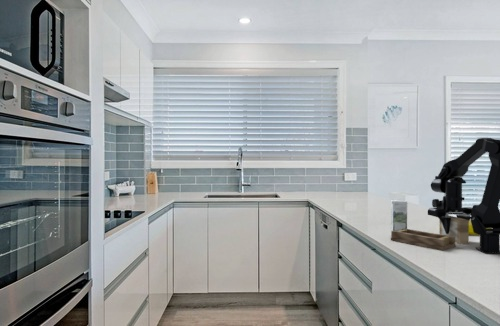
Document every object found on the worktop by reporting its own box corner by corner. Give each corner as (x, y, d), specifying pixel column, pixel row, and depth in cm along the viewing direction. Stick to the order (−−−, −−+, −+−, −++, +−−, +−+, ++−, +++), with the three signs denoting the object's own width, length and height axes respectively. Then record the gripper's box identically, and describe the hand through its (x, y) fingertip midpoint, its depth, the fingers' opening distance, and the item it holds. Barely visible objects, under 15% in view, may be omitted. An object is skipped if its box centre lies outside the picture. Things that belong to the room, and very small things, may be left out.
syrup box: (405, 232, 156) (405, 199, 155) (407, 235, 150) (407, 200, 150) (391, 231, 157) (391, 199, 157) (392, 234, 151) (392, 200, 151)
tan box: (468, 243, 135) (468, 220, 135) (459, 244, 135) (459, 220, 135) (447, 236, 147) (447, 215, 147) (439, 237, 147) (439, 215, 147)
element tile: (493, 236, 149) (493, 225, 149) (454, 235, 152) (454, 223, 152) (478, 229, 164) (478, 219, 164) (442, 228, 167) (442, 218, 167)
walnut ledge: (455, 246, 131) (455, 236, 131) (442, 250, 125) (442, 240, 125) (404, 236, 147) (404, 228, 147) (390, 240, 141) (390, 231, 141)
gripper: (461, 192, 150) (461, 229, 150) (419, 192, 148) (419, 230, 148) (481, 194, 139) (481, 234, 139) (436, 195, 137) (436, 236, 137)
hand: (453, 233), depth 141 cm, fingers open, 5 cm apart
